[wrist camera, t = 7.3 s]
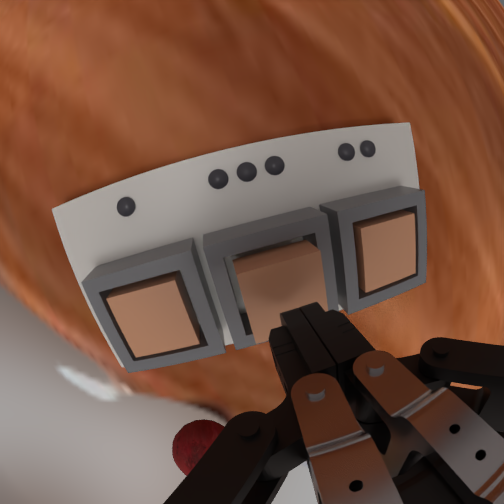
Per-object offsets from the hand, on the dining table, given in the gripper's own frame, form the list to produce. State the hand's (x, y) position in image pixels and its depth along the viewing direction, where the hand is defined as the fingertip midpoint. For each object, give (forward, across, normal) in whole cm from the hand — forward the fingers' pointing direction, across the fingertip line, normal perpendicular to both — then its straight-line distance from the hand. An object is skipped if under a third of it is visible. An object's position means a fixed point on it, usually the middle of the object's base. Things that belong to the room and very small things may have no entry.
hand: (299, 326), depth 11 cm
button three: (+5, 0, 0) cm, 5 cm away
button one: (+6, +7, 0) cm, 9 cm away
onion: (+9, +9, +15) cm, 19 cm away
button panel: (+9, 0, -1) cm, 9 cm away
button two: (+6, -7, 0) cm, 9 cm away
